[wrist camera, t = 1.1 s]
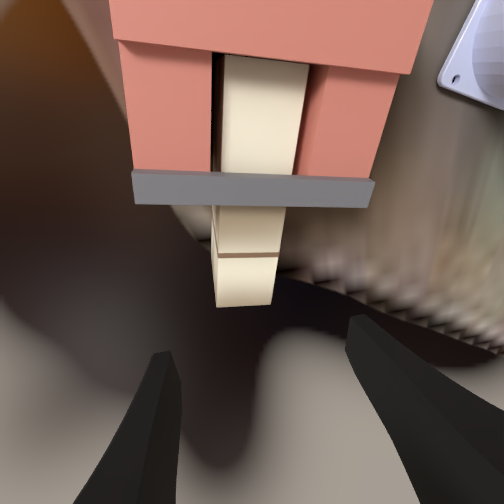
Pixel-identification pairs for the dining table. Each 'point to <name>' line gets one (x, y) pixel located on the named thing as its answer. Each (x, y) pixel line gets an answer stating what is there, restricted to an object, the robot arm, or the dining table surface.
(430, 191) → the dining table surface
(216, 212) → the cream block
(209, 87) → the dispenser
